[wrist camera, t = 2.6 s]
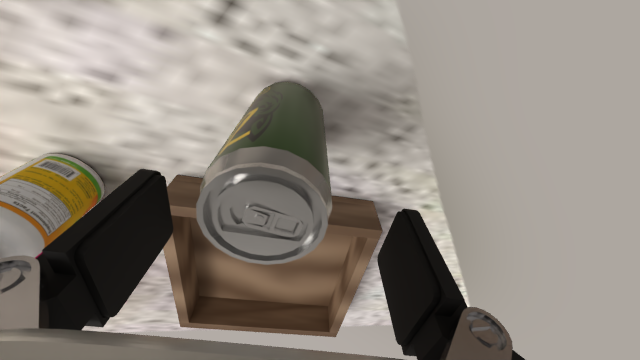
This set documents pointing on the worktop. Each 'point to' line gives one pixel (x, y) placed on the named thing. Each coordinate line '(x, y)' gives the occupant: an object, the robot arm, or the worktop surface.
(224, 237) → the beer can
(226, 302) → the box
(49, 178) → the supplement bottle
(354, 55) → the worktop surface
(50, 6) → the worktop surface
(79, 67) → the worktop surface
